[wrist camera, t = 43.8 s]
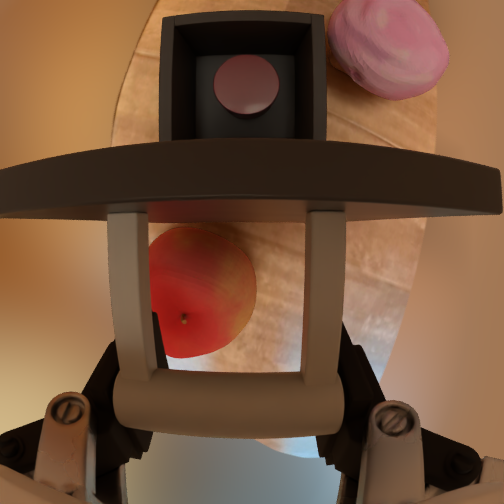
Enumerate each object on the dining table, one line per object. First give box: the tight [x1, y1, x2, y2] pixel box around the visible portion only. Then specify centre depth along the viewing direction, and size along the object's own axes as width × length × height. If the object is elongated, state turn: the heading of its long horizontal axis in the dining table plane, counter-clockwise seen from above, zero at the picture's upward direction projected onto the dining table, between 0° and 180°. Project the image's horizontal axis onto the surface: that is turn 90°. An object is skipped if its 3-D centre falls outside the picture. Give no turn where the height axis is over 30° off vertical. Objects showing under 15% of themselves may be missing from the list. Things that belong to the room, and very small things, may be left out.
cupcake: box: [327, 0, 449, 100], centre depth 16 cm, size 9×9×10 cm
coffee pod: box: [213, 54, 280, 119], centre depth 19 cm, size 4×4×4 cm
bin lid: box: [0, 138, 503, 439], centre depth 10 cm, size 13×10×6 cm
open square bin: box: [159, 10, 327, 142], centre depth 19 cm, size 13×10×8 cm
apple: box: [149, 227, 257, 358], centre depth 23 cm, size 10×10×10 cm
